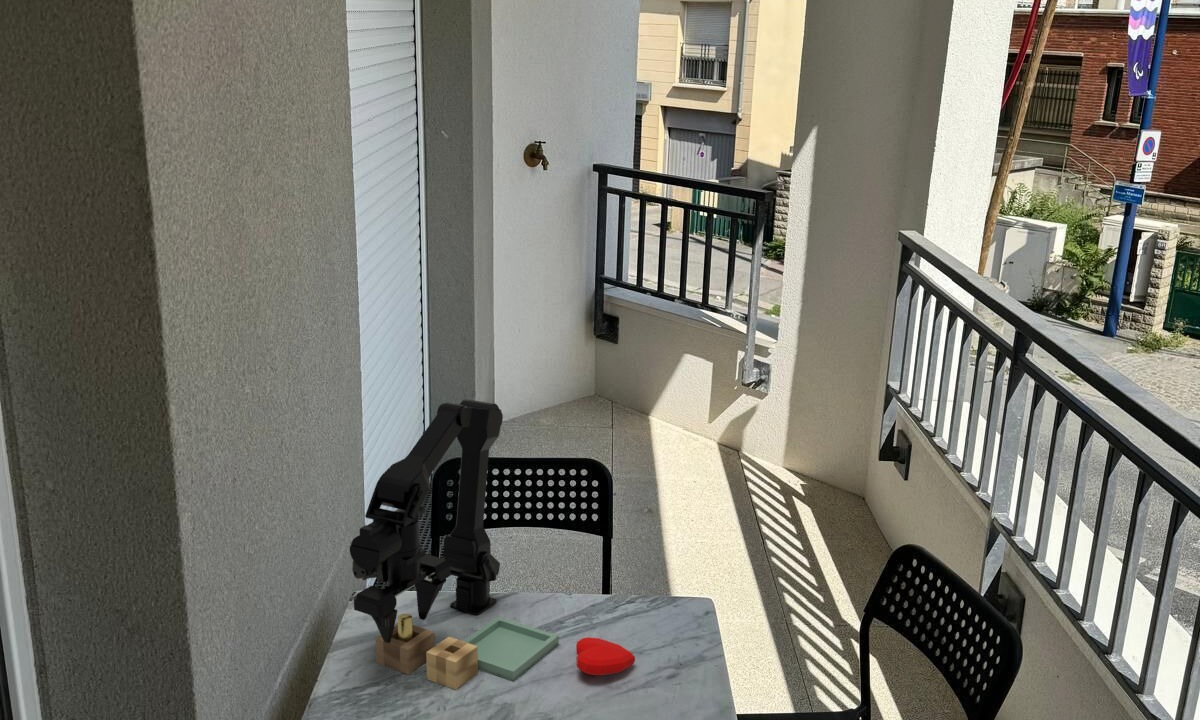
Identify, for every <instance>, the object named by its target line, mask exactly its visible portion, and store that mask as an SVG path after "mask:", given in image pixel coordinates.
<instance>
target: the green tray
mask: <svg viewBox="0 0 1200 720" xmlns="http://www.w3.org/2000/svg"><path fill="white" fill-rule="evenodd" d="M559 639H560V638H559V635H558V634H554V633H551V632H548V631H545V630H542V629H539V628H536V627H533V626H530V625H526V624H523V623H520V622H517V621H513V620H511V619H507V618H504V617H501V616H497V617H495V618H494V619H492V620H491V621H490V622H488V623H486V624H485V625H484V626H483V627H481V628H480V629H478V630H477V631H476V632H474V633H472V635H470V636H469V637H467V638H466V639H464V640H463V641H464V642H466V643H469V644H472V645H475V646H478V671H479V670H480V671H482V672H485V673H488V674H491V675H494V676H497V677H501V678H502V679H506V680H509V681H511V682H514V681H516V680H517V679H518V678H519V677H521V676H522V675H523V674H524V673H526V672H527V671H528V670H530V669H531V668H532V667H533V666H534V665H536V664H537V663H539V661H540V660H542V659H543V658H544V657H545V656H547V655H548V654H549V653H550V652H551V651H553V650H555V648H557V647H558V646H559V645H560V644H559Z"/></svg>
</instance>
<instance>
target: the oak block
mask: <svg viewBox="0 0 1200 720" xmlns="http://www.w3.org/2000/svg"><path fill="white" fill-rule="evenodd" d="M426 660H427V662H426V680H429V681H431V682H433V683H436V684H439V685H442V686H444V687H448V688H450V689H453V690H458V689H459V688H460V687H461V686H463V685H464V684H466V683H467V682H468V681H470V680H471V679H472V678H473V677H475V676H476V675H477V674H478V673H479V669H478V646H475V645H472V644H469V643H466V642H464V640H460V639H457V638H454V637H452V636H448V637H446V638H445V639H443V640H441V642H438V644H435V647H433V648H432V649H430V650H429V651H427V652H426Z"/></svg>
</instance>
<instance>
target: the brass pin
mask: <svg viewBox="0 0 1200 720" xmlns="http://www.w3.org/2000/svg"><path fill="white" fill-rule="evenodd" d="M397 625H398V640H400V641H403V642H406V643H407V642H408V641H410V640H411V639H413V632H412V625H413V615H412V614H410V613H402V614H399V615H398V616H397Z"/></svg>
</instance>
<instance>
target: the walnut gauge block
mask: <svg viewBox="0 0 1200 720" xmlns="http://www.w3.org/2000/svg"><path fill="white" fill-rule="evenodd" d="M412 632H413V639H411V640H410V641H408V642H407V643H406V642H403V641H400V640H398V624H395V625H394V630H393V635H392V638H391V641H390V643H386V642H384V640H383V638H382V636H381V634H380V635H379V636H377V637H375V660H376V664H378V665H381V666H384V667H387V668H389V669H392V670H395V671H397V672H400V673H403V674H406V675H410V674H411V673H413V672H414V671H416V670H417V669H419V668H420V667H422V666H423V665H424V664H427V660H426V652H427V651H429V650H430V649H432V648H433V647H435V646H436V643H435V631H433V630H430V629H427V628H424V627H420V626H418V625H414V624H412Z"/></svg>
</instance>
